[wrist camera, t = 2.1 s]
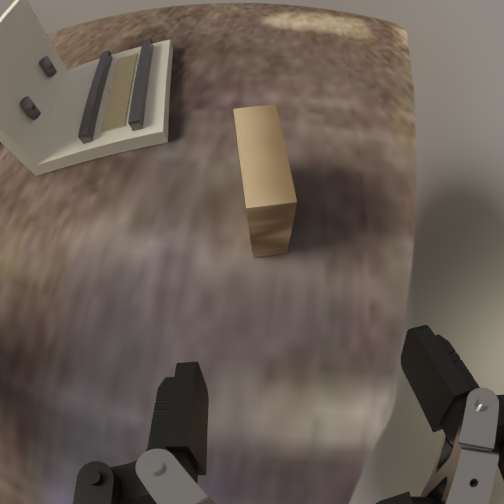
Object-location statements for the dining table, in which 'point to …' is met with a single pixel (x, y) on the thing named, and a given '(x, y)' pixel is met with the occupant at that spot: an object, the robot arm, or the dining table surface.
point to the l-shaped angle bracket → (77, 97)
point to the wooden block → (265, 179)
